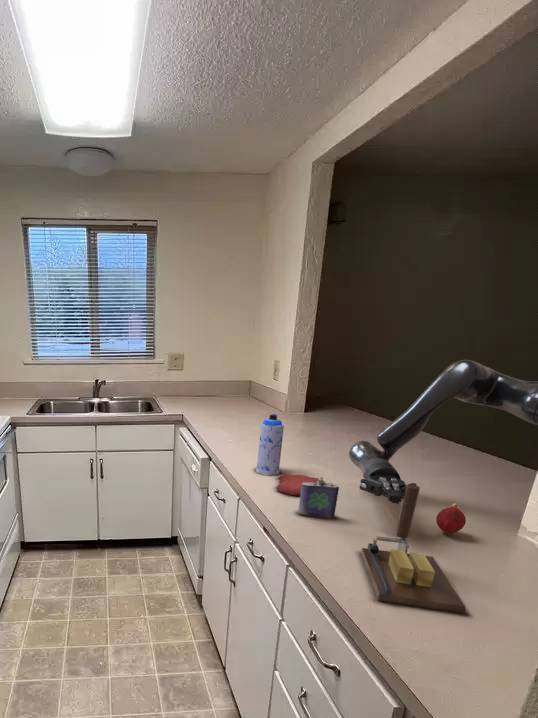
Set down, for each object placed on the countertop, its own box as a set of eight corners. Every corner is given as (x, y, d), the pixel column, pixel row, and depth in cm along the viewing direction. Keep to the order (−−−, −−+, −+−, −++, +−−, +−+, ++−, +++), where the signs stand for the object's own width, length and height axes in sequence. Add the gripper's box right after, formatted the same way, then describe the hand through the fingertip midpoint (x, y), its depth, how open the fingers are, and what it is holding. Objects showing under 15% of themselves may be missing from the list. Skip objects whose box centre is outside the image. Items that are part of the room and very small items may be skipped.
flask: (298, 515, 118) (303, 478, 114) (297, 510, 120) (302, 474, 117) (335, 518, 116) (341, 481, 112) (333, 514, 118) (339, 477, 114)
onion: (463, 541, 103) (472, 510, 101) (435, 536, 106) (443, 506, 103) (458, 530, 108) (466, 501, 105) (431, 526, 111) (438, 497, 108)
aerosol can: (280, 475, 147) (287, 417, 140) (257, 474, 148) (262, 417, 141) (277, 467, 154) (283, 412, 147) (255, 466, 155) (260, 412, 148)
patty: (279, 475, 147) (280, 470, 146) (323, 480, 142) (324, 475, 141) (274, 494, 132) (275, 488, 131) (324, 500, 127) (325, 494, 126)
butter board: (431, 562, 95) (436, 542, 93) (463, 613, 79) (470, 590, 77) (360, 553, 99) (364, 534, 97) (377, 600, 83) (382, 578, 81)
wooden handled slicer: (402, 550, 96) (418, 485, 91) (410, 564, 91) (426, 495, 85) (365, 546, 98) (378, 481, 93) (370, 559, 93) (384, 491, 87)
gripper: (354, 459, 116) (367, 482, 100) (410, 463, 112) (432, 487, 97) (350, 485, 119) (362, 511, 103) (405, 490, 115) (425, 517, 99)
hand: (396, 499), depth 100 cm, fingers closed
